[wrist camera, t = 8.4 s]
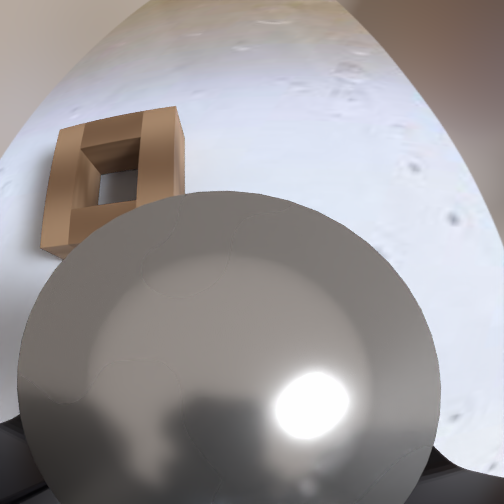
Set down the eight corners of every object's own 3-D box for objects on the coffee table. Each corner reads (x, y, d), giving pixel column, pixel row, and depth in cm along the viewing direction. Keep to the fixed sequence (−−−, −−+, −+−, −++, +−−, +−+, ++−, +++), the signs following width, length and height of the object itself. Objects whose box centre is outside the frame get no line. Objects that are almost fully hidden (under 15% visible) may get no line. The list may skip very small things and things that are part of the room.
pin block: (186, 251, 18) (174, 233, 15) (69, 262, 18) (40, 248, 15) (184, 138, 20) (175, 106, 17) (80, 155, 20) (59, 129, 17)
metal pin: (245, 394, 14) (252, 619, 1) (192, 351, 14) (-28, 401, 2) (288, 342, 14) (498, 364, 2) (236, 299, 15) (197, 119, 2)
